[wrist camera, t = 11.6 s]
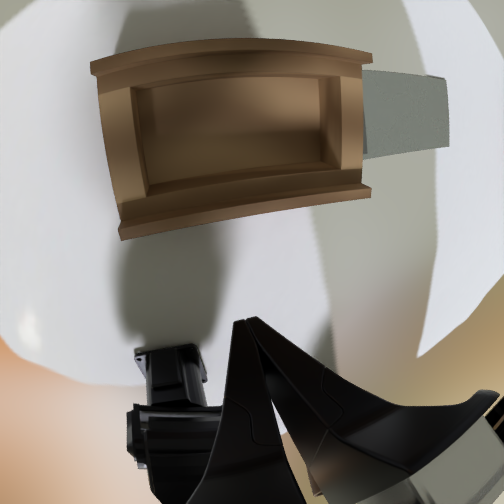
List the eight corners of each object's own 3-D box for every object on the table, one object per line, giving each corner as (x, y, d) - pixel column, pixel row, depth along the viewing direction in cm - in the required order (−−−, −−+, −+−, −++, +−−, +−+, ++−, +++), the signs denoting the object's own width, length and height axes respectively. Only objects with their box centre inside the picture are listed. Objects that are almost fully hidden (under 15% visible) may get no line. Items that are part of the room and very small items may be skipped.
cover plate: (444, 144, 23) (458, 149, 22) (344, 160, 21) (359, 166, 19) (440, 79, 19) (455, 81, 18) (332, 70, 17) (348, 68, 15)
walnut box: (335, 179, 21) (370, 197, 17) (131, 212, 18) (121, 240, 14) (333, 60, 16) (371, 53, 12) (109, 74, 13) (90, 61, 9)
